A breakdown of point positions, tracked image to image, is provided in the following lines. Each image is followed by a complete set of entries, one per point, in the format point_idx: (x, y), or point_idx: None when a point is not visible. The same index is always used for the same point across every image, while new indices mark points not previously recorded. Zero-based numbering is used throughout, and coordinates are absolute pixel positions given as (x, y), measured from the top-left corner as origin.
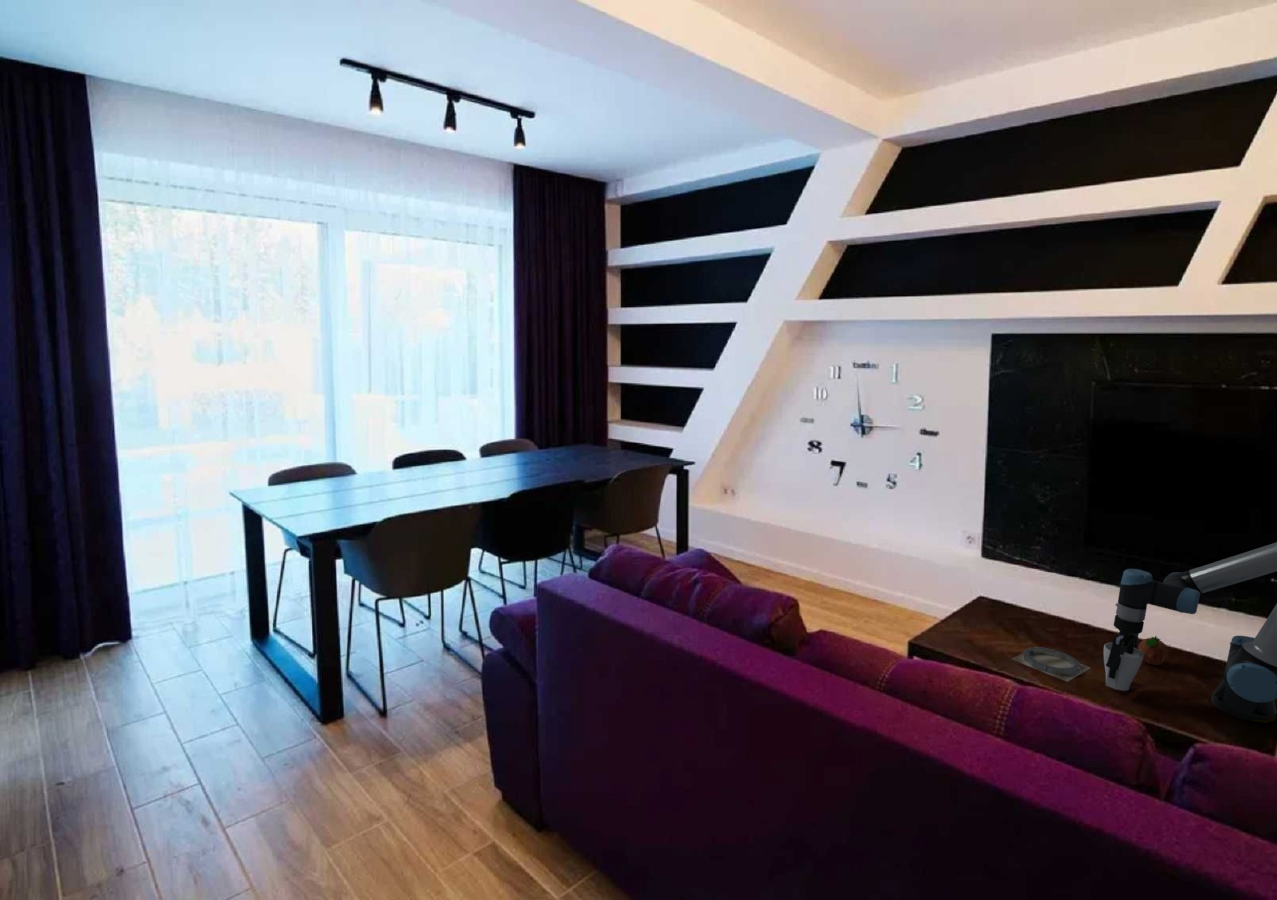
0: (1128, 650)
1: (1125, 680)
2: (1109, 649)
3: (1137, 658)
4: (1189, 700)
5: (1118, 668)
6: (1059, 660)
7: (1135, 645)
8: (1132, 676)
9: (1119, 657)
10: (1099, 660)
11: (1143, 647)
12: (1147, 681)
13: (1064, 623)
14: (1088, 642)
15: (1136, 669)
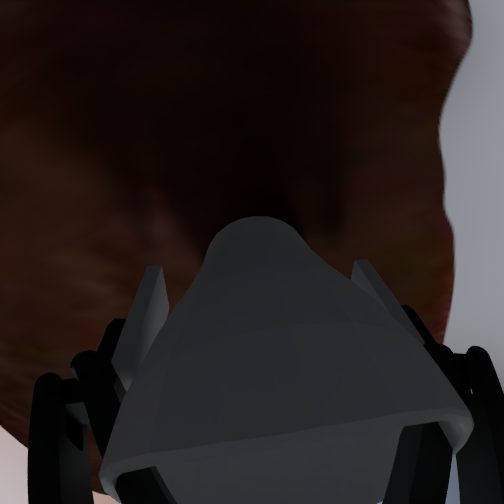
0: (156, 473)
1: (329, 265)
2: (234, 485)
3: (446, 402)
4: (39, 24)
5: (442, 350)
6: None
7: (63, 491)
8: (311, 259)
9: (491, 423)
10: (65, 374)
11: None
12: (25, 218)
13: (12, 431)
14: (16, 401)
15: (331, 287)
